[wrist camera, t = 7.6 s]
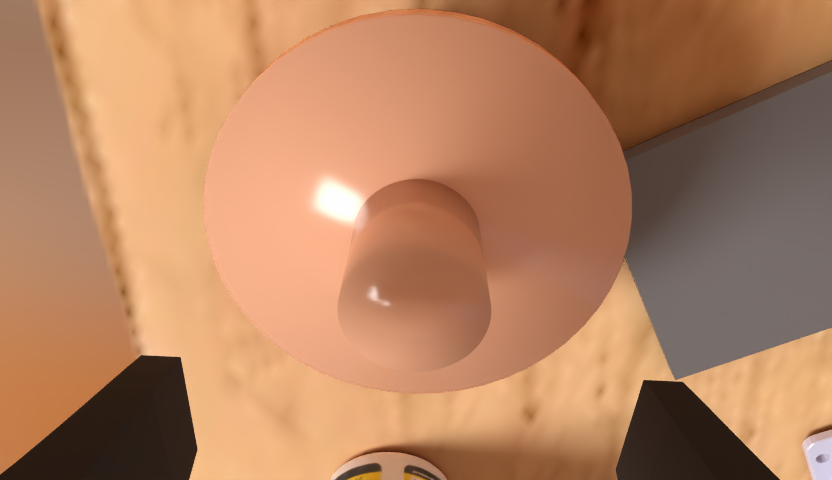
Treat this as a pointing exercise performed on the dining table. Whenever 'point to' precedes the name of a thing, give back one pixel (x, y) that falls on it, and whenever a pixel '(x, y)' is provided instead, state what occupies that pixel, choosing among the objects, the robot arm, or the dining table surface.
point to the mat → (736, 225)
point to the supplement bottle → (388, 468)
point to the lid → (417, 202)
